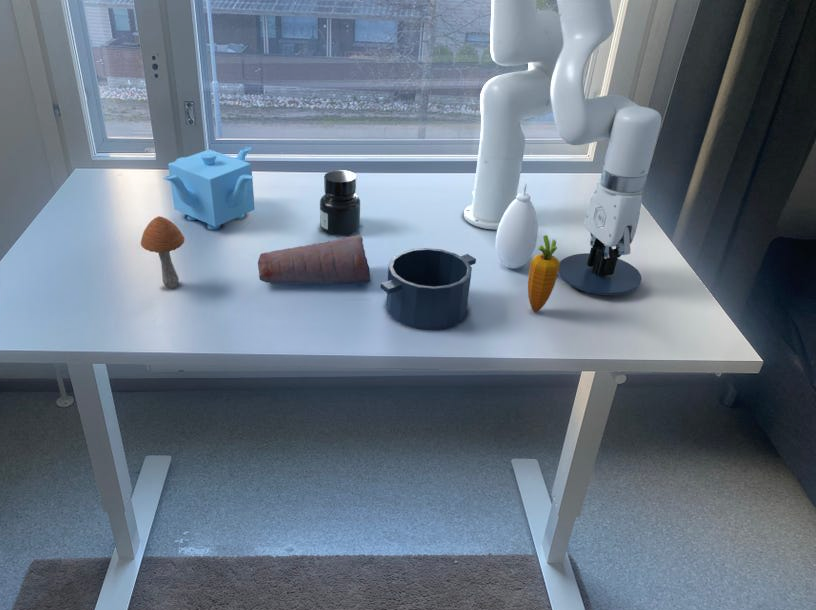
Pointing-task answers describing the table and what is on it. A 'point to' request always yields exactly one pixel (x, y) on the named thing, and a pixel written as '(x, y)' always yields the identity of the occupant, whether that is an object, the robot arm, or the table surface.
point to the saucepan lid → (588, 280)
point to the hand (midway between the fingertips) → (600, 269)
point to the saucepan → (428, 287)
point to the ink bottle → (340, 204)
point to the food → (317, 263)
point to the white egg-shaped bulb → (517, 232)
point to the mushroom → (163, 246)
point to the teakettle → (212, 186)
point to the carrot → (542, 275)
